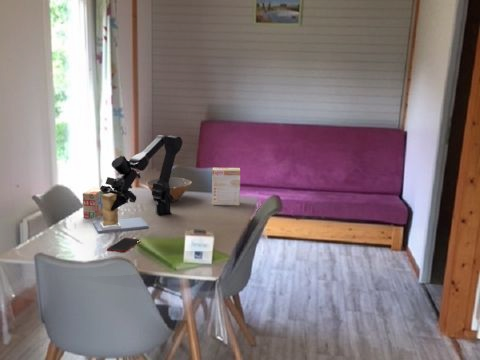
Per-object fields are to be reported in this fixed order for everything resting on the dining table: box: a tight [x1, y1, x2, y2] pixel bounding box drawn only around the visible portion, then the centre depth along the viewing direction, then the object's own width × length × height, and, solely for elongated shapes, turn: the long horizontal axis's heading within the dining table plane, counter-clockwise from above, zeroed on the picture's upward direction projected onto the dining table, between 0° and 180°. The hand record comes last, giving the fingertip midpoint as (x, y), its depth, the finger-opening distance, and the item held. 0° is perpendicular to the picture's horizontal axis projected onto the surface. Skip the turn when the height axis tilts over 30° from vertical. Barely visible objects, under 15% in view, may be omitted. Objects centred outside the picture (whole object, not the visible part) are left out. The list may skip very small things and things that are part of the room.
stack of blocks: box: [82, 186, 104, 219], centre depth 238 cm, size 21×6×12 cm, turn 172°
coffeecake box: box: [211, 166, 241, 206], centre depth 261 cm, size 15×7×20 cm, turn 92°
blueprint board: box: [92, 216, 149, 234], centre depth 219 cm, size 22×14×2 cm, turn 116°
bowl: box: [146, 176, 192, 202], centre depth 267 cm, size 25×25×10 cm
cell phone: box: [106, 237, 140, 254], centre depth 194 cm, size 8×15×1 cm, turn 164°
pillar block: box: [102, 193, 119, 225], centre depth 212 cm, size 4×4×13 cm
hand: (107, 209), depth 211 cm, fingers closed on pillar block, 4 cm apart
